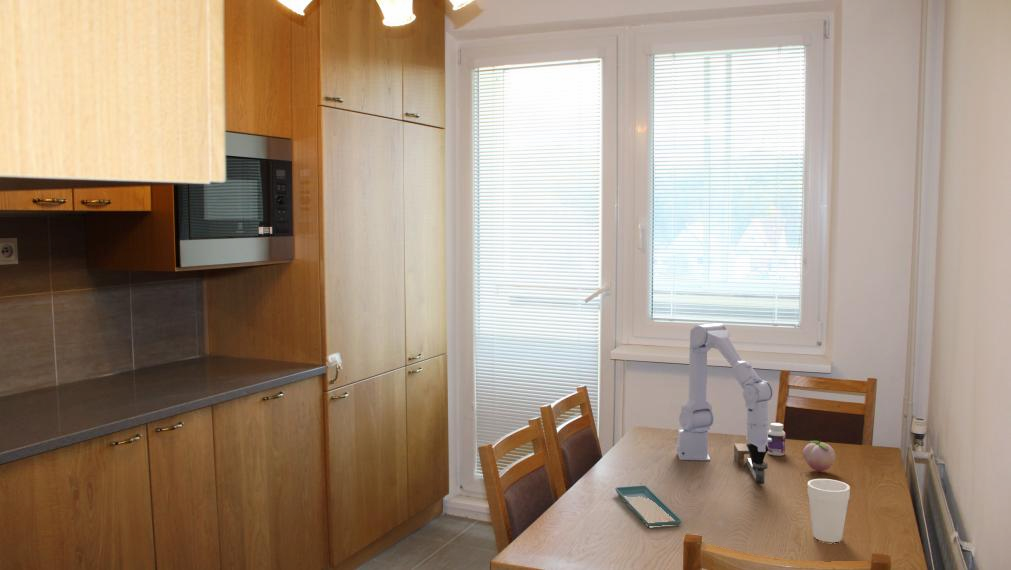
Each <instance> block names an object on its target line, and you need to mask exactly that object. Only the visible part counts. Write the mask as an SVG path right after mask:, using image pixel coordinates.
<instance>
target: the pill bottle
mask: <svg viewBox="0 0 1011 570" xmlns="http://www.w3.org/2000/svg"><path fill="white" fill-rule="evenodd" d="M783 429H784V423H783V424H782V423H781V422H772V423H770V426H769V430H768V438H771V439H772V442H768V443H767V447H768V451H767V454H768V455H771V456H776V457H777V456H778V457H781V456H785V454H786V432H785V431H784V430H783Z"/></svg>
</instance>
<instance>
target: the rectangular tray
mask: <svg viewBox="0 0 1011 570" xmlns="http://www.w3.org/2000/svg"><path fill="white" fill-rule="evenodd" d="M615 491H616V493H617V495H618V496H619V498H620V497H621V498H622V499H623V500H624V501H625V502H626V503H627V504H628V505H629V506H630V507H631V508H632V509H633V511H634V512H635V513H636V514H637V515H638V516H639V517H640V518H641V519H642V520H643V521H644V522H645V523H646V524H647V525H648V526H662V525H678V524H679V525H681V523H682V521H683V520H682V519H681V518H680V516H678V515H677V514H676V513H675V512H674V511H672V510H671V509H670V508H669V507H668V506H667V505H666V504H665V503H664V502H663V501H662V499H660V498H659V497H658V496H657V495H656V494H655V493H654V492H653V491H652V490H651V489H650V488H649V487H648V486H647V485H632V486H620V487H615ZM624 496H627V497H638V496H640V497H641V496H642V497H643V498H644V497H645V498H646V499H647V498H649V499H650V500H652V501H653V502H655V503H656V504H657V505H658V506H659V507H661V508H662V509H663V510H664V511H665V512H666V513H667V514H669V516H671V517H672V518H673V519H674V520H675V521H668V522H655V523H648V522H647V521H646V520H645V519H644V517H643V516H642V515H641V514H640V513H639V512H638V511H637V510H636V509H635V508H634V507H633V506H632V505H631V504H630V503H629V501H628V500H627V499H626V498H625V497H624ZM621 498H620V499H621ZM622 499H621V500H622ZM624 501H623V502H624ZM625 502H624V503H625ZM626 503H625V504H626ZM627 504H626V505H627ZM628 505H627V506H628ZM629 506H628V507H629ZM630 507H629V508H630ZM631 508H630V509H631ZM633 511H632V512H633ZM634 512H633V513H634ZM635 513H634V514H635ZM636 514H635V515H636ZM637 515H636V516H637ZM638 516H637V517H638ZM639 517H638V518H639ZM640 518H639V519H640ZM641 519H640V520H641ZM642 520H641V521H642ZM643 521H642V522H643ZM644 522H643V523H644ZM645 523H644V524H645ZM646 524H645V525H646Z"/></svg>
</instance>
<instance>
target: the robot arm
mask: <svg viewBox="0 0 1011 570" xmlns="http://www.w3.org/2000/svg"><path fill="white" fill-rule="evenodd" d="M689 332H690V333H689V357H688V358H689V359H688V360H689V361H688V364H689V369H688V374H689V375H688V378H689V379H688V399H687V400H686V401H685V402H684V403H683V404H682V405H681V408H680V409H681V410H680V413H679V418H678V421H679V425H680V427H681V428H682V429H678V430H677V448H676V449H677V450H676V451H677V452H676V453H677V456H678V459H679V461H711V458H710V457H711V456H710V455H709V451H708V450H709V448H708V447H709V446H708V445H709V430H711V427H712V426H713V424H714V419H715V418H714V413H713V405H712V404H711V403H710V402H708V401H707V379H708V378H707V377H708V376H707V375H708V374H707V373H708V369H707V368H708V352H709V351H710V350H711V349H716V350H718V351H719V353H720V354H721V355H722V356H723V358H725V360H726V361H727V362H728V363H729V365H730V366H731V367H732V368H731V374H732V376H733V377H734V378H735V380H736V381H737V382H738V384H739V385H740V387H741V388H742V389H743V391H742V397H743V399H744V401H745V408H746V410H747V412H746V416H747V417H746V418H747V419H746V421H747V423H746V437H745V438H746V440H745V441H746V442H747V443H745V444H746V445H747V447H748V450H749V453H750V454H749V457H750V456H751V462H752V467H753V462H764V461H765V460H764V459H765V457H766V454H768V442H772V439H771V438H768V431H769V430H768V429H769V426H768V424H769V401H770V400H771V399H772V397H773V394H774V393H773V387H772V386H771V384H770V382H769V381H766V380H763V379H764V378H760V376H759V375H758V374H757V373H756V371H755V369H754V368H753V367H752V366H753V365H751V363H750V362H748V361H746V360H745V361H744V360H743V359H742V358H741V356H740V354H739V353H738V351H737V350H736V348H735V346H734V344H733V343H732V341H731V340H730V331H729V330H728V329H727V327H726V326H725V324H723V323H721V322H717V323H712V324H696V325H694V326H693V327H692V328H691V329H690V331H689ZM753 469H756V468H753Z"/></svg>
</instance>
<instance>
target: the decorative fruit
mask: <svg viewBox="0 0 1011 570" xmlns="http://www.w3.org/2000/svg"><path fill="white" fill-rule="evenodd" d="M802 456H803V459H804V461H805V462H806V463H807V465H808V466H809V467H810V468H811V469H812V470H814V471H815V472H818V473H821V472H823V471H827V470H829V469H830V468H831V467H832V466H833V464H834V463H835V460H836V453H835V450H834V449H833V448H832V446H831V445H829V444H828V443H826V442H821V440H820V439H818V440H810V441H809V442H808V444H806V446H805V447H804V449H803V451H802Z"/></svg>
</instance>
